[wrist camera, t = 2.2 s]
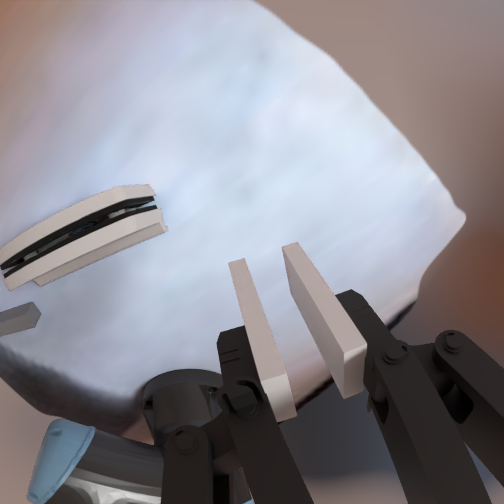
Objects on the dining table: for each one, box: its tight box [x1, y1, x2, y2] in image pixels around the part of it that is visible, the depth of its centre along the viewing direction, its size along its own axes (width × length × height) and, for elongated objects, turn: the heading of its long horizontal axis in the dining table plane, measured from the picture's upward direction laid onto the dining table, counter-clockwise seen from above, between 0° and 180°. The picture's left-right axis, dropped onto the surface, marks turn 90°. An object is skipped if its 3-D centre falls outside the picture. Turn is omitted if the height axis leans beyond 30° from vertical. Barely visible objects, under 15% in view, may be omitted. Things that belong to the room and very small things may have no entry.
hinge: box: [0, 184, 168, 291], centre depth 24 cm, size 17×5×10 cm, turn 107°
